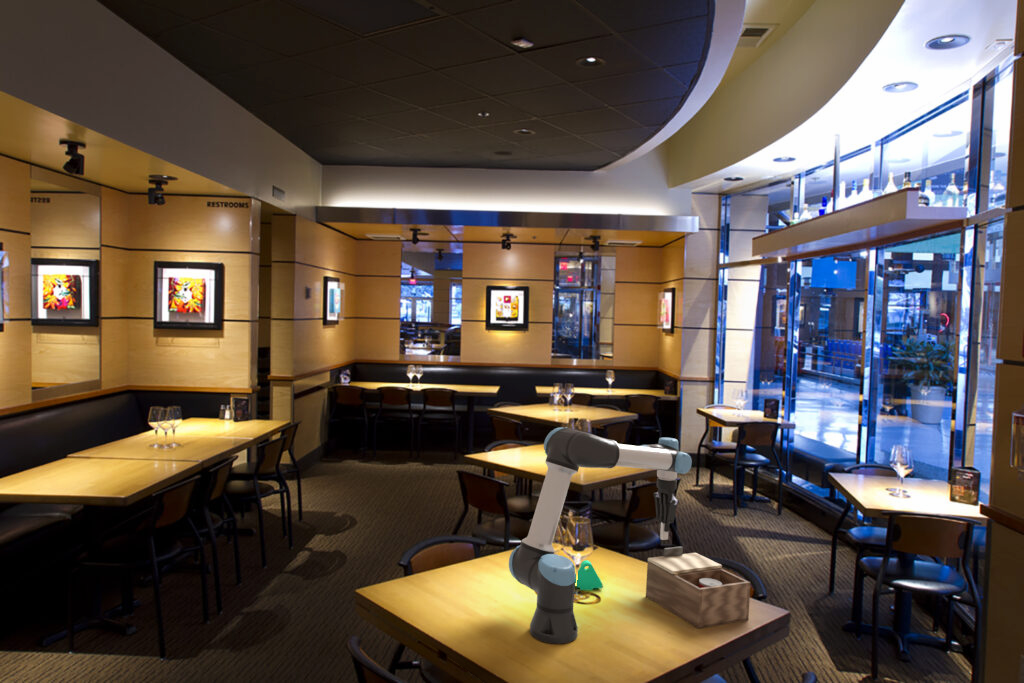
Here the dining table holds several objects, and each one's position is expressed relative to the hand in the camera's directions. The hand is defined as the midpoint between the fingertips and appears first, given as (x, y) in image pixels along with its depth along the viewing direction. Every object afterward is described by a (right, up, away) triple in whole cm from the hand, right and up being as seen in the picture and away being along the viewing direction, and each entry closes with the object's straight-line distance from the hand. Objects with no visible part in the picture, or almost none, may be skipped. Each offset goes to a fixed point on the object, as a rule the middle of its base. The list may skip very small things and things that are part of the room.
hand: (664, 539), depth 254 cm
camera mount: (-31, -18, -3) cm, 36 cm away
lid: (+5, -6, -12) cm, 14 cm away
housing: (+7, -19, -18) cm, 27 cm away
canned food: (+10, -19, -24) cm, 32 cm away
